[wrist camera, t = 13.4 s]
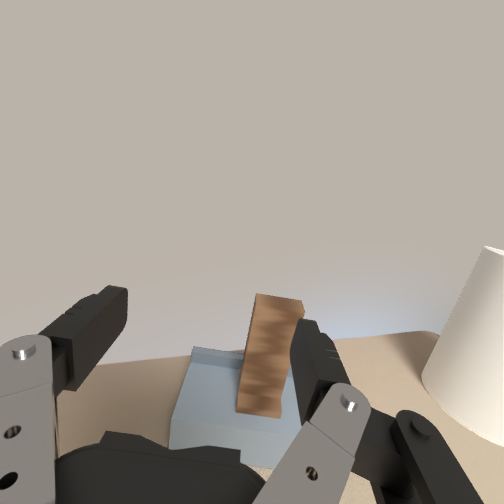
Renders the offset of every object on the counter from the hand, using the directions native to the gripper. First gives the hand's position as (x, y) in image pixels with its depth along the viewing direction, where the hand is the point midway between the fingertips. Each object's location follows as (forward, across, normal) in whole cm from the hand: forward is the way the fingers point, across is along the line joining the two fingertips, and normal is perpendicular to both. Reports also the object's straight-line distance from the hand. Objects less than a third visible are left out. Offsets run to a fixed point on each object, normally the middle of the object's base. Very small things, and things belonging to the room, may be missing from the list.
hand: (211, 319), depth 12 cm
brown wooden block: (+15, -7, +22) cm, 27 cm away
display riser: (+15, -7, +28) cm, 32 cm away
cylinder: (+26, -49, +27) cm, 62 cm away
